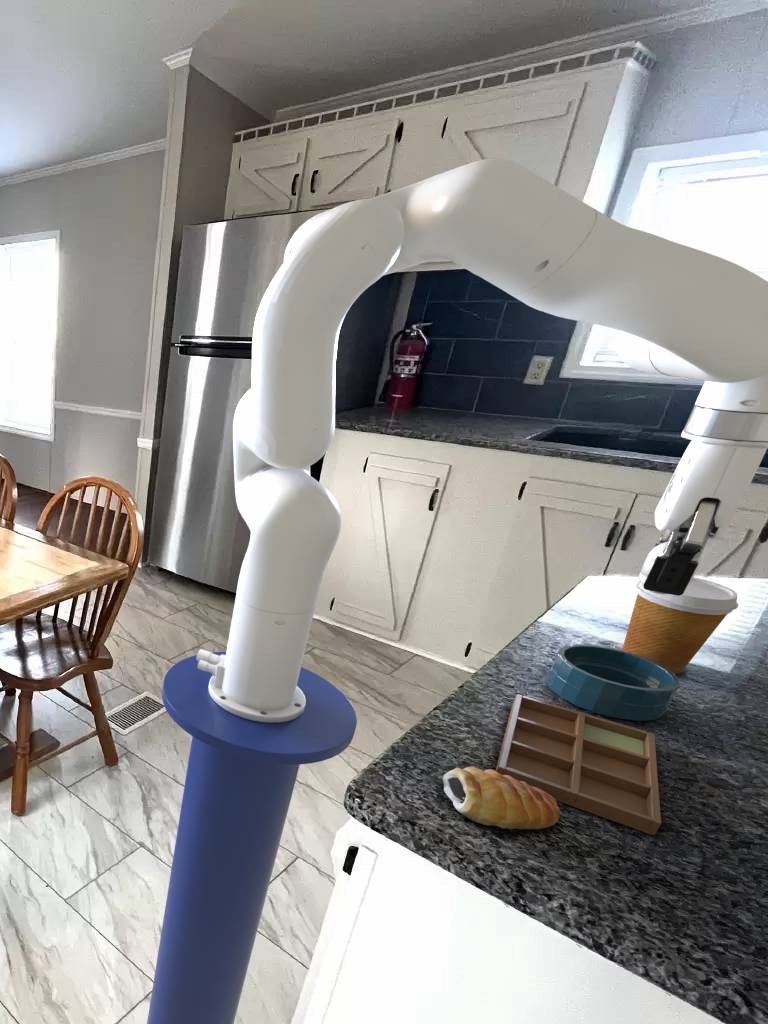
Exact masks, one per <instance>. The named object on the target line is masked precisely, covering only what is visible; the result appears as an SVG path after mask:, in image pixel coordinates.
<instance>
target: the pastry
mask: <svg viewBox="0 0 768 1024" xmlns="http://www.w3.org/2000/svg"><path fill="white" fill-rule="evenodd" d="M442 782H443V791H444V793H445V795H446V796H447V797H448V798H449V800H450V801H451V802H452V805H453V806H454V808H455V810H456V811H457V812H459V813H460V814H461V815H463V816H464V817H467V818H468V819H469V820H471V821H472V822H475V823H478V824H481V825H484V826H486V827H487V826H496V827H499V829H508V830H514V829H516V830H521V831H522V830H528V831H529V830H539V829H546V828H549V827H551V826H554V825H555V824H557V822H558V821H559V820H560V815H561V809H560V808H559V806H558V804H557V803H558V802H557V801H556V800H555V798H553V797H552V796H550V795H549V794H547V793H546V792H544V791H543V790H541V789H539V788H536V787H533V786H530V785H528V784H527V783H526V782H523V781H518V780H516V779H514V778H512V777H511V776H509V775H501V774H499V773H498V772H496V770H495V769H491V768H490V769H489V768H488V769H483V770H482V769H480V768H478V767H476V766H474V765H471V766H466V767H464V768H460V767H455V768H454V769H451V770H448V772H446V773H444V774H443V776H442Z"/></svg>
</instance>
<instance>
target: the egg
mask: <svg viewBox="0 0 768 1024" xmlns="http://www.w3.org/2000/svg"><path fill="white" fill-rule="evenodd" d="M677 542H678V541H676V543H677ZM658 544H659V545H657V546H655V545H654V546H653V548H651V549H650V550H649V552H648V553H647V555H646V558H645V560H644V562H643V564H642V567H641V569H640V571H639V574H638V579H639V582H640V583H641V584H642V586H643V585H644V583H645V581H646V578H647V576H648V574H649V572H650V570H651V568H652V566H653V564H654V562H655V559H656V557H657V556H661V555H662V553H663V550H664V548H665V546H666V544H667V542H664V543H658ZM702 557H703V556H702V555H701V556H700V558H699V560H698V566H697V568H696V570H695V571H694V573H693V575H692V577H691V579H690V581H689V583H688V585H689V584H690V583H691V581H692V579H693V577H694V578H695V575H696V573H697V571H698V570H699V568H700V565H701V562H702ZM688 585H687V586H688ZM649 591H650V590H649ZM651 592H653V593H657V594H666V593H661V592H656V591H651Z"/></svg>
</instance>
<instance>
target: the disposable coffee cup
mask: <svg viewBox="0 0 768 1024" xmlns="http://www.w3.org/2000/svg"><path fill="white" fill-rule="evenodd" d="M635 587H636V599H635V602H634V605H633V608H632V609H633V610H632V612H631V617H630V620H629V623H628V627H627V631H626V635H625V638H624V641H623V645H622V649H621V650H622V651H626V652H629V653H632V654H635V655H638V656H642V657H644V658H647V659H649V660H651V661H654V662H656V663H658V664H660V665H662V666H664V667H665V668H667V669H669V670H670V671H672V672H673V673H674V674H675V675H678V674H681V673H682V672H684V670H685V669H686V667H687V666H688V665H689V663H691V661H692V660H693V658H695V656H696V655H697V653H698V652H699V651H700V650H701V648H702V647H704V644H705V643H706V642H707V641H708V640H709V638H710V637H711V635H713V633H714V632H715V631H716V629H717V628H718V627H719V626H720V624H721V623H722V622H723V620H725V618H726V617H727V616H728V615H729V614H730V613H732V612H733V611H734V610H737V609H738V607H739V603H738V593H737V592H736V591H735V590H733V589H732V588H729V587H727V586H724V585H722V584H720V583H717V582H714V581H710V580H707V579H703V578H698V577H695V576H694V577H693V579H692V581H691V583H690V584H689V585H688V586H687V587H686V589H685V591H684V593H683V594H682V595H680V596H677V595H671V594H657V593H653V592H651V591H649V590H646V589H644V587H643V586H642V584H641V583H640V581H639V582H637V583H636V586H635Z"/></svg>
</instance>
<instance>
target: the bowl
mask: <svg viewBox="0 0 768 1024" xmlns="http://www.w3.org/2000/svg"><path fill="white" fill-rule="evenodd" d="M545 684H546V685H547V686H548V687H549V689H550V690H551V691H553V692H554V693H555V694H557V696H559V697H560V698H562V699H564V700H565V701H567V702H569V703H571V704H573V705H575V706H577V707H579V708H580V709H584V710H586V711H589V712H592V713H595V714H597V715H601V716H604V717H609V718H612V719H613V718H614V719H620V720H628V721H639V722H640V721H641V722H642V721H643V722H646V721H654V720H658V719H660V718H661V717H662V716H663V715H665V713H666V712H667V709H668V707H669V705H670V704H671V702H672V700H673V698H674V696H675V694H676V693H677V691H678V689H679V687H680V685H681V682H680V678H679V677H678V676H677V674H674V673H673V672H672V671H670V670H669V669H667V668H665V667H664V666H662V665H660V664H658V663H656V662H654V661H651V660H649V659H647V658H644V657H642V656H638V655H635V654H632V653H629V652H626V651H622V649H618V648H613V647H610V646H603V645H597V644H590V643H589V644H586V643H584V644H583V643H580V644H579V643H574V644H567V645H564V646H562V647H560V648H559V649H558V650H557V653H556V655H555V657H554V659H553V661H552V664H551V667H550V669H549V671H548V673H547V676H546V681H545Z"/></svg>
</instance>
